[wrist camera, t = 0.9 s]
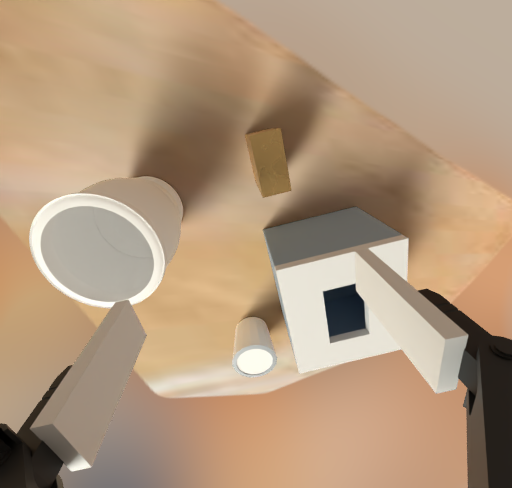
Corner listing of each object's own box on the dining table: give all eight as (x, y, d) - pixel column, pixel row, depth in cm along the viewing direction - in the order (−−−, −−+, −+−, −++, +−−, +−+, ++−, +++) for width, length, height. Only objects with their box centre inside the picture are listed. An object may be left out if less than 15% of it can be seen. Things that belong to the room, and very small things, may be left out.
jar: (96, 180, 32) (-5, 216, 18) (172, 157, 32) (128, 176, 18) (134, 251, 37) (76, 323, 23) (202, 231, 36) (184, 292, 23)
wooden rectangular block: (244, 134, 31) (249, 135, 23) (268, 128, 31) (280, 127, 23) (255, 181, 34) (263, 197, 26) (277, 176, 34) (291, 190, 26)
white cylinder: (267, 310, 43) (274, 341, 37) (273, 339, 46) (279, 373, 40) (228, 318, 43) (227, 350, 37) (236, 346, 46) (237, 381, 40)
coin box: (263, 229, 37) (275, 270, 26) (355, 206, 37) (408, 238, 26) (282, 312, 44) (299, 373, 33) (361, 293, 43) (404, 348, 32)
